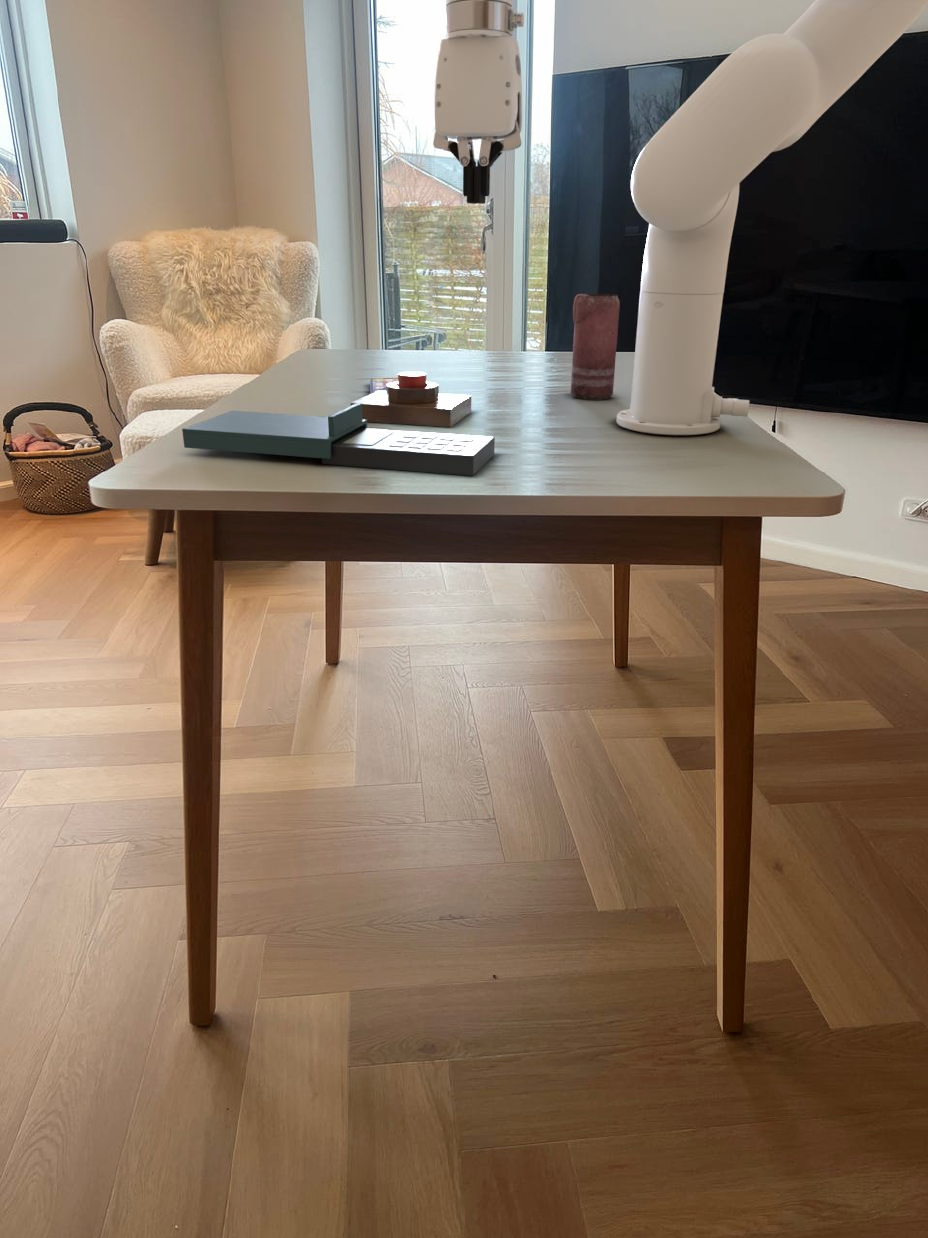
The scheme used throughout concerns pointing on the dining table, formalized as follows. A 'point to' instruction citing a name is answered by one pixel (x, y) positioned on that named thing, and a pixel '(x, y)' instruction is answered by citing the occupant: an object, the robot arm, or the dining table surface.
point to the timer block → (415, 406)
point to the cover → (274, 432)
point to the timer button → (412, 379)
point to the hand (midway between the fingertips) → (476, 202)
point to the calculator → (412, 451)
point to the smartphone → (380, 383)
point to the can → (594, 345)
